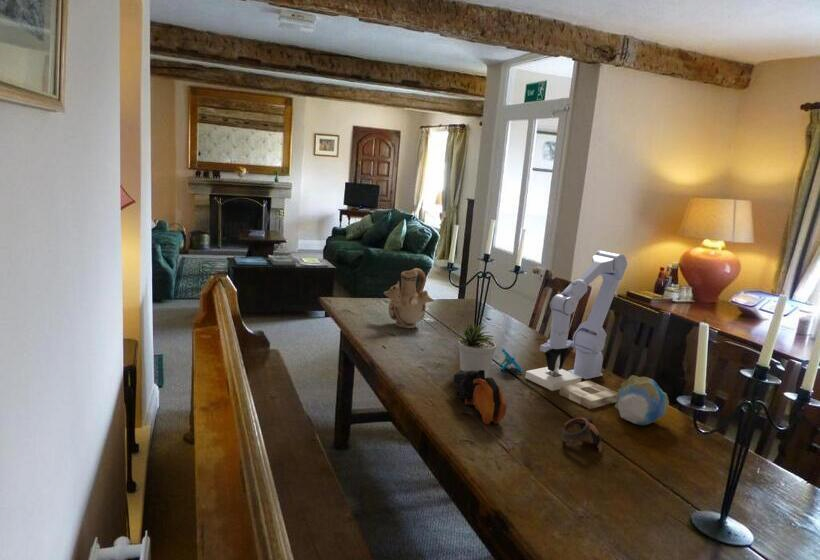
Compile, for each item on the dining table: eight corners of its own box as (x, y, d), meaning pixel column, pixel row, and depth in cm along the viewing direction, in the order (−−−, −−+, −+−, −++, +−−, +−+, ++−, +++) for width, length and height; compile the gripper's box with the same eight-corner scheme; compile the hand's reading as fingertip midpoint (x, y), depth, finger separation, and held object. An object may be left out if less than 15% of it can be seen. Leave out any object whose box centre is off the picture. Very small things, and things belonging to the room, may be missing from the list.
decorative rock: (635, 376, 153) (680, 377, 157) (600, 373, 168) (642, 373, 172) (636, 428, 151) (682, 428, 155) (601, 420, 166) (643, 419, 170)
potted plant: (454, 366, 195) (459, 311, 191) (493, 372, 193) (500, 316, 189) (449, 379, 183) (454, 320, 179) (491, 385, 180) (498, 325, 177)
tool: (474, 419, 171) (471, 370, 174) (512, 424, 150) (508, 367, 153) (450, 421, 168) (447, 370, 171) (485, 426, 147) (481, 368, 150)
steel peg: (552, 376, 191) (556, 351, 189) (559, 379, 188) (563, 354, 186) (546, 378, 189) (550, 352, 187) (553, 381, 186) (556, 355, 185)
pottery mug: (602, 461, 138) (590, 433, 136) (566, 465, 143) (554, 439, 141) (608, 431, 148) (596, 405, 146) (574, 435, 153) (562, 411, 151)
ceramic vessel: (381, 319, 247) (385, 264, 242) (422, 320, 252) (427, 265, 247) (388, 332, 230) (393, 272, 225) (433, 332, 234) (438, 274, 229)
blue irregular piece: (526, 371, 191) (508, 350, 190) (513, 383, 191) (494, 361, 190) (518, 365, 202) (501, 344, 201) (506, 375, 202) (488, 355, 201)
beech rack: (587, 387, 185) (588, 380, 185) (618, 401, 176) (620, 393, 175) (559, 394, 177) (560, 386, 177) (590, 409, 168) (591, 401, 167)
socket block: (553, 372, 197) (554, 365, 197) (580, 384, 188) (581, 377, 187) (525, 377, 190) (526, 371, 189) (552, 390, 180) (553, 383, 179)
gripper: (564, 325, 192) (559, 362, 195) (535, 329, 184) (530, 368, 187) (581, 331, 187) (575, 369, 189) (551, 335, 179) (546, 375, 181)
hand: (554, 369), depth 188 cm, fingers closed on steel peg, 3 cm apart
